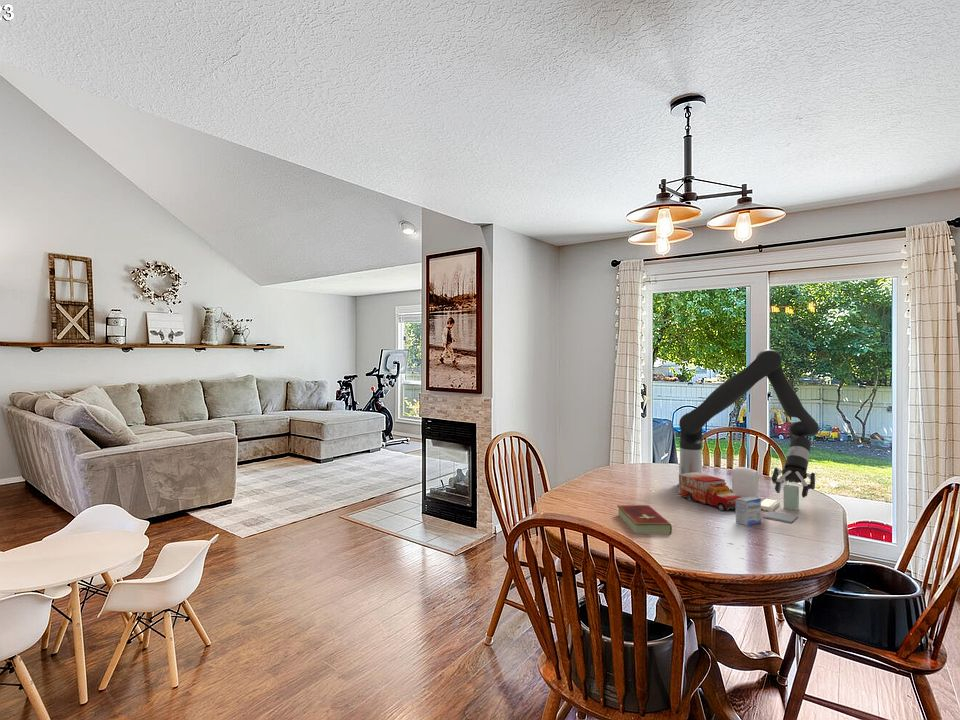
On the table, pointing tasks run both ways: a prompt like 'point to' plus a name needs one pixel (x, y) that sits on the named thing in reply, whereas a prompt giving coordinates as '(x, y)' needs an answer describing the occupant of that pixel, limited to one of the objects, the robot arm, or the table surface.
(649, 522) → the hardcover book
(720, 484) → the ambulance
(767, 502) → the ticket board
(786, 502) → the stub block
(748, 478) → the photo printer
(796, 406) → the robot arm
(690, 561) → the table surface
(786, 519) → the stub pad
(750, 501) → the medicine box
